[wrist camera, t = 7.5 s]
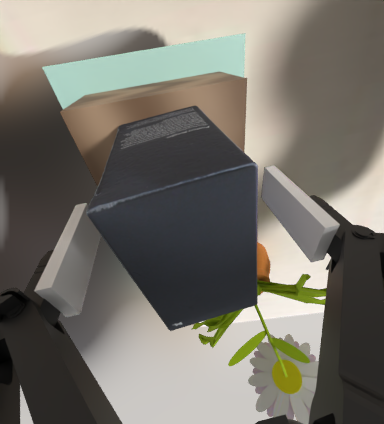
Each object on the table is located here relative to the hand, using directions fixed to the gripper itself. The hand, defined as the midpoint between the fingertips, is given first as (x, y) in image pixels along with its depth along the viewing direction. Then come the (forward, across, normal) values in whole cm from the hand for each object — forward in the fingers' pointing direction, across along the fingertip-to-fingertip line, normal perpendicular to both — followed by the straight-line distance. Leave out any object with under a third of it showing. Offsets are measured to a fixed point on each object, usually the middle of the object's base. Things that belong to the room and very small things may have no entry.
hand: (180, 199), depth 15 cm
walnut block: (+10, 0, 0) cm, 11 cm away
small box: (+4, 0, 0) cm, 4 cm away
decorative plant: (+12, -10, +26) cm, 30 cm away
